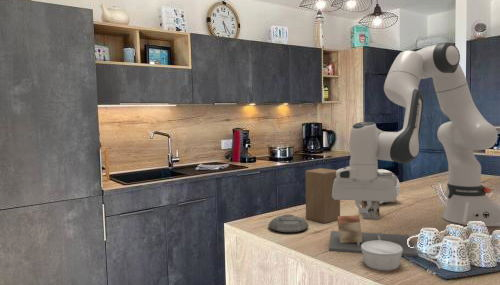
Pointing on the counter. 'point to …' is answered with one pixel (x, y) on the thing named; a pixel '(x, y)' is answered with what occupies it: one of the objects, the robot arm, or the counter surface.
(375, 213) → the coffee box
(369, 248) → the ramekin
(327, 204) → the wooden block
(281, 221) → the flying saucer
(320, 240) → the counter surface
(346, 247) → the rubber mat
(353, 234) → the maple cube
